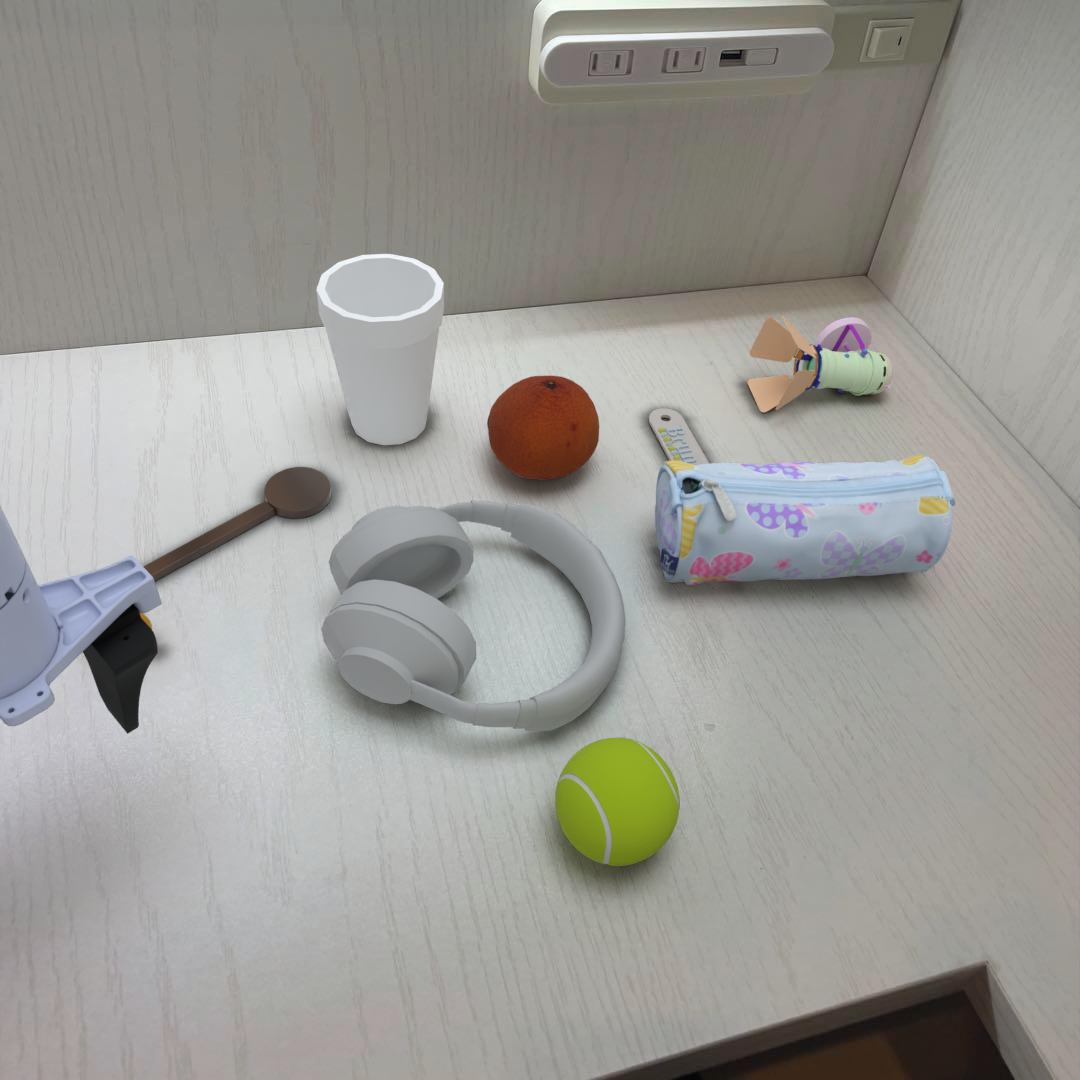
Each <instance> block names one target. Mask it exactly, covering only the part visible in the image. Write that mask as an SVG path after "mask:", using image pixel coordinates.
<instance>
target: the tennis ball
mask: <svg viewBox="0 0 1080 1080" xmlns="http://www.w3.org/2000/svg"><path fill="white" fill-rule="evenodd" d="M554 794H555V796H554V797H555V798H554V801H555V803H554V804H555V811H556V812H555V813H556V816H557V819H558V823H559V825H560V827H561V830H562V832H563V834H564V835H565V837H566V838H567V840H568V841H569V843H570V844H571V845H572V846H573V847H574V848H575V849H576V850H577V851H578V852H580V853H581V854H582V855H583V856H585V857H586V858H588V859H590V860H591V861H594V862H596V863H599V864H602V865H608V866H611V867H625V866H631V865H635V864H637V863H640V862H643V861H645V860H647V859H648V858H651V856H653V855H654V854H656V853H657V852H658V851H660V850H661V849H662V847H664V845H666V843H667V842H668V840H669V839H670V838H671V836H672V834H673V832H674V830H675V828H676V826H677V823H678V819H679V816H680V815H679V814H680V809H681V808H680V807H681V802H680V801H681V799H680V792H679V788H678V784H677V781H676V778H675V776H674V774H673V772H672V770H671V769H670V767H669V765H668V763H667V762H666V761H665V760H664V759H663V758H662V757H661V755H660V754H659V753H657V752H656V751H655V750H654V749H653V748H651V747H650V746H648V745H646V744H645V743H643V742H642V741H638V740H634V739H631V738H626V737H607V738H602V739H599V740H596V741H594V742H591V743H589V744H586V745H584V747H582V748H580V749H579V750H578V751H577V752H575V754H573V756H571V758H570V759H569V760H568V761H567V763H566V764H565V765H564V767H563V768H562V771H561V773H560V775H559V777H558V779H557V784H556V787H555V793H554Z"/></svg>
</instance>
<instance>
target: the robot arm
mask: <svg viewBox="0 0 1080 1080" xmlns="http://www.w3.org/2000/svg"><path fill="white" fill-rule="evenodd" d="M143 566H144V565H142V564H141V563H140V562H139V560H138V559H136V557H135V556H134V555H129V556H127V557H124V558H122V559H121V560H118V561H116V562H113V563H111V564H109V565H106V566H103V567H100V568H97V569H94V570H91V571H87V572H83V573H79V574H75V575H71V576H68V577H64V578H60V579H56V580H53V581H49V582H44V583H41V584H38V583H37V580H36V578H35V576H34V574H33V572H32V570H31V567H30V565H29V563H28V561H27V559H26V557H25V554H24V552H23V549H22V548H21V546H20V544H19V541H18V539H17V537H16V535H15V534H14V531H13V529H12V527H11V524H10V523H9V520H8V518H7V516H6V513H5V512H4V510H3V508H2V506H1V505H0V720H1V721H2V723H3V724H4V725H6V726H7V727H17V726H20V725H23V724H24V723H26V722H28V721H29V720H31V719H32V718H34V717H36V716H38V715H39V714H41V713H43V712H45V711H46V710H48V709H49V708H51V707H52V706H53V705H54V703H55V700H56V697H55V694H54V692H53V690H52V689H51V687H50V686H51V683H53V682H54V681H55V680H56V679H57V678H58V677H59V676H60V675H61V674H62V673H63V672H64V671H65V670H67V668H68V667H69V666H70V665H71V664H72V663H73V662H74V661H75V660H76V659H77V658H78V657H79V656H80V655H81V654H82V653H83V655H84V657H85V659H86V661H87V663H88V664H87V665H88V666H89V668H90V671H91V674H92V677H93V680H94V683H95V686H96V688H97V691H98V694H99V696H100V698H101V700H102V702H103V703H104V705H105V707H106V709H107V710H108V712H109V713H110V714H111V716H112V717H113V718H114V720H115V721H116V722H117V723H118V724H119V725H120V726H121V728H122V729H123V730H124V732H125V733H126V734H127V735H128V734H130V733H131V732H133V731H134V730H136V729H138V728H139V726H140V717H139V714H140V713H139V712H140V711H139V707H140V698H141V692H142V691H141V690H142V686H143V682H144V680H145V676H146V674H147V671H148V669H149V667H150V665H151V664H152V662H153V660H154V659H155V658H156V656H157V655H158V654H159V649H158V641H157V637H156V634H155V632H154V630H153V628H152V629H151V628H150V627H149V626H148V625H147V623H146V622H145V621H144V620H143V619H142V618H141V616H140V613H143V614H144V615H145V614H147V613H149V612H151V611H152V610H154V609H156V608H158V607H160V606H161V605H162V604H163V603H162V598H161V596H160V594H159V590H158V588H157V584H156V581H154V578H153V577H152V576H151V575H150V574H149V572H148V571H147V570H146V569H145V568H144V567H143Z"/></svg>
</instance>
